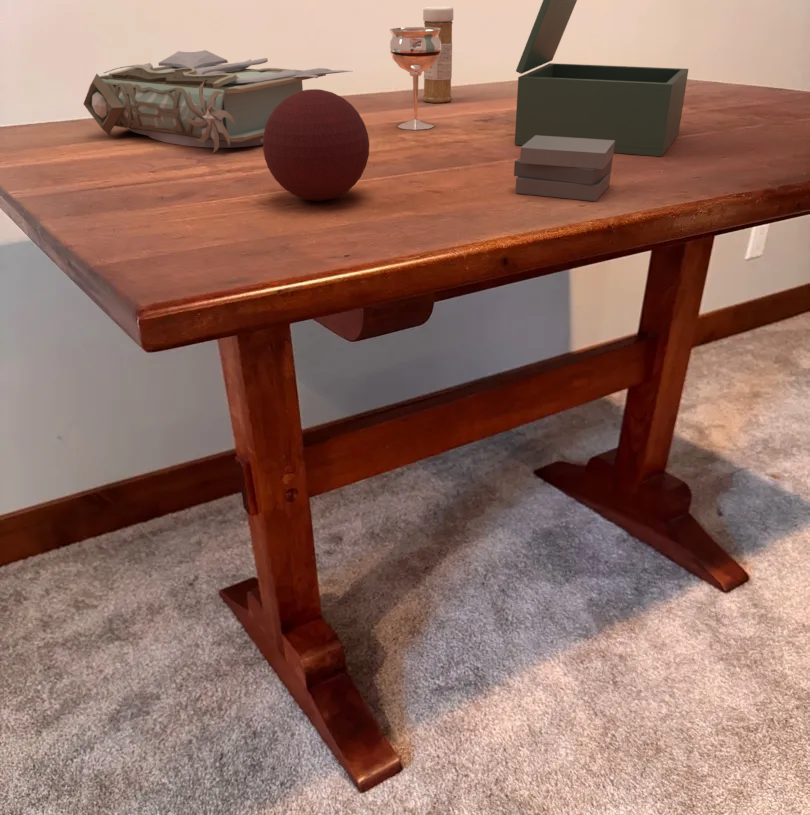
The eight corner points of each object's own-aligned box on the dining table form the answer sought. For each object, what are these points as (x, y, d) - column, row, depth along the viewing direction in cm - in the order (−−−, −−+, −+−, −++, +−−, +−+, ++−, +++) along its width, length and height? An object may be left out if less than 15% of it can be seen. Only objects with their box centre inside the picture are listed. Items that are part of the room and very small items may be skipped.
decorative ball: (335, 180, 84) (330, 78, 79) (391, 200, 77) (389, 90, 72) (250, 197, 79) (238, 89, 74) (301, 220, 72) (292, 102, 67)
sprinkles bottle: (418, 100, 128) (418, 6, 121) (444, 98, 129) (445, 5, 123) (430, 104, 124) (431, 7, 117) (457, 102, 126) (458, 6, 119)
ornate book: (81, 143, 106) (247, 160, 92) (63, 65, 102) (235, 70, 87) (203, 116, 123) (361, 127, 108) (193, 47, 118) (356, 49, 103)
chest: (678, 134, 102) (688, 68, 98) (661, 156, 91) (672, 84, 88) (544, 125, 109) (549, 63, 105) (514, 145, 98) (518, 76, 94)
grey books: (613, 185, 81) (619, 139, 79) (599, 202, 75) (604, 154, 73) (530, 177, 84) (532, 133, 82) (510, 193, 79) (512, 146, 76)
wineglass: (420, 119, 113) (420, 26, 107) (450, 126, 108) (452, 29, 102) (381, 125, 110) (378, 29, 104) (410, 133, 105) (409, 32, 99)
